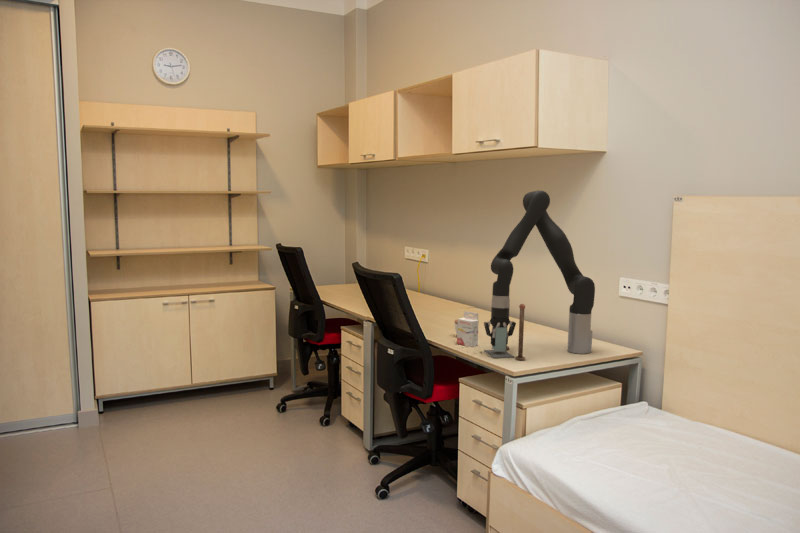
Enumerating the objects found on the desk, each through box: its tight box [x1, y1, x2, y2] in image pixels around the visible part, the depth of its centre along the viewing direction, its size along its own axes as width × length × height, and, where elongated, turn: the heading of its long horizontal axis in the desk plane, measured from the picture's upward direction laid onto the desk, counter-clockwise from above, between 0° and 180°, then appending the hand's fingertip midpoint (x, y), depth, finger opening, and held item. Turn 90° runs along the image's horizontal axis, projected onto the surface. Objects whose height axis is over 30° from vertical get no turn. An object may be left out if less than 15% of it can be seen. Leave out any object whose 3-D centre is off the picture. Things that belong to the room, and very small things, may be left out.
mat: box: [483, 349, 515, 359], centre depth 255 cm, size 9×12×1 cm
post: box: [514, 303, 526, 362], centre depth 246 cm, size 4×4×23 cm
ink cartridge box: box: [456, 310, 479, 348], centre depth 271 cm, size 9×5×15 cm, turn 48°
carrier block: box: [491, 327, 508, 351], centre depth 254 cm, size 4×4×10 cm
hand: (499, 345), depth 254 cm, fingers closed on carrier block, 4 cm apart
